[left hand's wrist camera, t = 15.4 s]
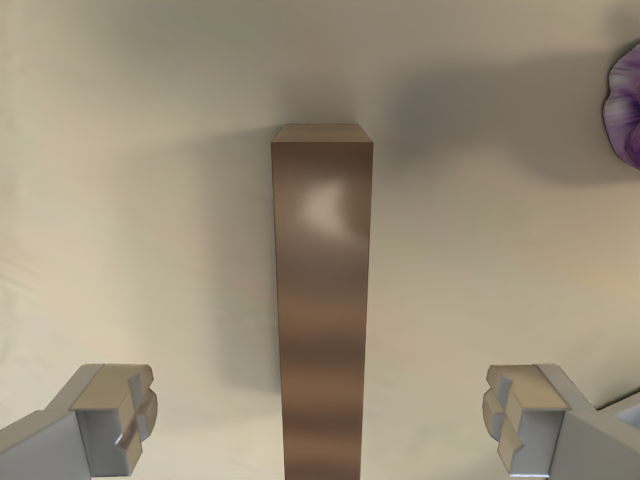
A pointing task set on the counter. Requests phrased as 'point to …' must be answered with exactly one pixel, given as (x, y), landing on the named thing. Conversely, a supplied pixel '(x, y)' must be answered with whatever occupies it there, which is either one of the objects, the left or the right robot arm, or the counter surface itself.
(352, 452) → the bar
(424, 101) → the counter surface
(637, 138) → the figurine
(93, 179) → the counter surface
